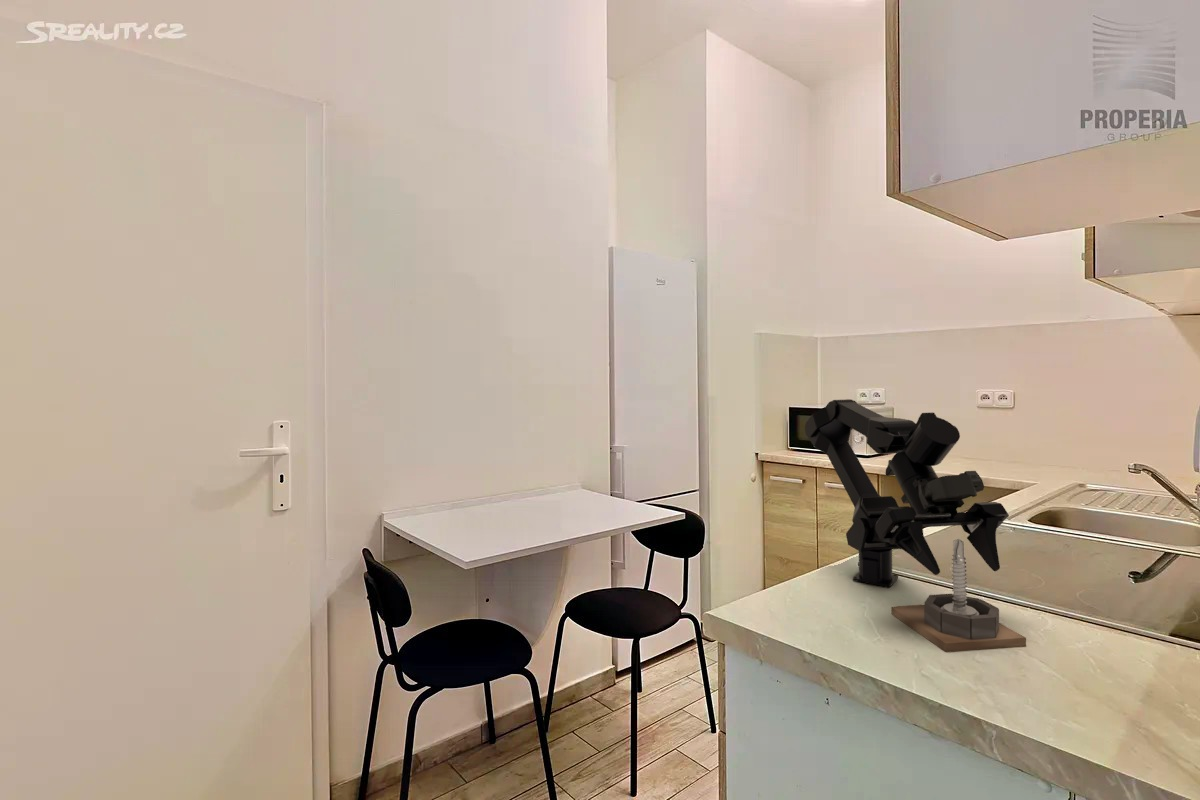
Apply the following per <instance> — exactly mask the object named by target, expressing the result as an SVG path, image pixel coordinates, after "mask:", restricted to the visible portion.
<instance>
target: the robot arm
mask: <svg viewBox="0 0 1200 800" xmlns="http://www.w3.org/2000/svg"><path fill="white" fill-rule="evenodd" d="M852 430H854V431H856V432H858V433H860V434H861V435H862V436H864V437H865V438H866V444H867V445H868V447H870V449H872V450H873V451H874V452H875V453H876V454H878V455H889V454H894V455H893V457H892V458H891V459H889V460H888V463H887V467H886V468H885V472H884V473H885V476H887V477H891V476H894V477H895V479H896V481H897V482H898V483H897V484H898V485H899V487H900V488H901V491H902V492H903V495H902V496H901V498H900V500H901V502H902V504H909V506H907V505H906V506H904V505H903V506H899V504H898V502H897V500H896V499H895V498H894V496H891V495H889V496H884V495H883V496H881V495H880V494H879V492H878V491H877V489H876V487H875V486H874V483H872V481H871V479H870V477H869V476H868V474H867V472H866V471H865V469H864V467H863V465H862V463H861V461H860V460H859V459H858V457H857V454H856V453H855V452H854V450H853V448H852V447H851V445H850V442H849V440H850V438H851V431H852ZM804 433H805V435H806V437H807V439H808V440H809V442H810V443H811V445H812V446H813V447H814V448H815V449H817V450H818V451H820V452H822V453H824V454H826V456H827V457H828V459H829V461H830V463H831V465H832V466H833V469H834V471H835V472H836V475H837V476H838V478H839V480H840V482H841V484H842V485H843V488H844V490H845V492H846V493H847V496H848V498H849V499H850V501H851V503H852V505H853V507H854V511H853V516H852V524H851V526H850V527H849V529H848V530H847V532H846V534H845V537H846V541H847V546H850V547H851V548H853V549H854V550H856V551H858V572H857V573H855V574H854V575H853V577H852V580H853V581H854V582H855V581H856V582H860V583H863V584H864V583H865V584H870V585H875V586H880V587H886V588H890V587H891V588H892V585H893V584H894V583H895V582H896V581H897V580H898V578H899V575H898V574H895V573H893V550H903V551H904V552H905V553H907V555H908V554H909V555H910V556H911V558H913V559H915V560H916V561H917V562H918V563H920V564H921V565H922V566H923V567H924V568H925V569H927V570H928V571H929V572H930V573H932V574H933V576H934V575H935V576H937V575H939V574H940V573H941V569H940V567H939V564H938V561H937V560H936V557H935V555H934V553H933V551H932V550H931V548H930V546H929V544H928V542H927V540H926V538H925V536H924V528H932V527H934V528H935V527H952V526H954V527H955V526H961V527H962V530H963V532H965V533H967V534H969V535H968V536H967V537H966V539H967V540H968V541H969V544H971V545H972V547H973V549H975V551H976V552H977V553H978V555H980V557H981V558H982V560H983V561H984V563H986V565H987V566H988V567H989V568H990V569H991V570H992V571H994V572H998V571H999V570H1000V569H1001V565H1000V560H999V559H1000V558H999V553H998V552H999V551H998V546H997V538H996V537H997V533H996V532H997V529H998V528H999V527H1000V526H1001V525H1002V524H1003V522H1004V521H1006V519H1007V518H1008V517H1009V516H1010V514H1009V513H1008V512H1007V510H1006V508H1005V506H1004V505H1003V504H1002V503H1001V502H997V501H987V502H974V503H973V505H971V507H969V508H968V510H967V511H964V512H963V511H962V512H958V510H957V509H958V508H962V507H963V506H964V505H965V502H964V499H967V498H970V497H972V498H974V497H977V496H978V493H979V492H982V491H984V490H985V489H984V488H985V484H984V481H983V478H982V477H981V476H980V474H979V473H978V472H977V471H976V470H965V471H964V472H960V473H959V474H950V475H948V474H947V475H943V476H940V477H939V476H938V474H937V473H936V471H935V469H934V467H935V466H938V465H940V464H941V463H942V462H943V461H944V459H945V458H946V456H947V455H948V454H949V453H950V452H951V450H952V449H953V448H954V447H955V445H956V444H957V443H958V441H959V440H960V437H961V435H960V431H959V429H958V428H957V426H955V425H953V423H951V422H950V421H948V420H946V419H943V418H941V417H938V416H937V415H936V414H935V412H921V414H919V416H918V419H917V421H916V422H915V421H913V420H910V419H905V418H897V417H887V416H883V415H881V414H879V413H877V412H876V411H873V410H871V409H870V408H867V407H865V406H863V405H861V404H859V403H858V402H857V401H856V400H853V399H849V398H847V399H846V398H845V399H833V400H831V401H829V402H828V403H827V404H826V405H825V406H824V407H822V408H820V409H819V410H817V411H815V412H813V413H812V414H811V415H810V417H809V418H807V420H806V421H805V424H804Z"/></svg>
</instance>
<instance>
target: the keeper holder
mask: <svg viewBox="0 0 1200 800" xmlns="http://www.w3.org/2000/svg"><path fill="white" fill-rule="evenodd" d="M952 594H953V593H940V594H938V593H937V594H930V595H928V596H927V597H926V599H925V601H924V604H914V605H910V604H909V605H898V606H894V605H893V606H891V607H890V609H891V610H890V611H891V615H892V616H894V617H895V618H896V619H898V620H899V621H901V622H902V623H904V624H905V625H907V626H908V627H909V628H911V629H912V630H914V631H915V632H917V633H918V634H920V635H921V636H922V637H924V638H925V639H927V640H928V641H929V642H931V643H932V644H934V645H935V646H937V647H938V648H939V649H941V650H942V651H944V652H945V653H947V652H949V653H950V652H962V651H963V652H964V651H975V650H989V649H990V650H991V649H1003V648H1015V647H1016V648H1018V647H1027V637H1026V636H1024V635H1023V634H1020V633H1019V632H1017V631H1015V630H1013V629H1011V628H1009V627H1007V626H1006V625H1004V624H1002V623H1000V609H999V608H998V607H997V606H995V605H993V604H991V603H989V602H987V601H985V600H983V599H981V598H977V597H972V596H968V595H966V597H967V599H966V601H967V603H966V605H967V606H970V607H973V608H974V609H976V611H978V612H979V615H973V616H967V615H962V614H958V613H953V612H948V611H945V610H943V609H941V607H942V606H944V605H945V604H949V603H953V601H954V599H952V598H953V597H954V595H952Z"/></svg>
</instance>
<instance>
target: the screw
mask: <svg viewBox="0 0 1200 800" xmlns="http://www.w3.org/2000/svg"><path fill="white" fill-rule="evenodd" d="M952 543H953V545H952V546H953V549H952V551H953V554H952V555H951V556H952V558H951V560H952V562H951V564H952V566H951V568H952V570H951V572H952V574H951V576H952V577H951V580H953V581H952V582H951V583H952V586H951V587H952V588H953V589H952V590H951V591H952V592H953V593H951V594H952V595H954V597H953V598H952V599H954V601H953V603H949V604H945V605H944V606H942V607H941V609H943V610H945V611H948V612H953V613H958V614H962V615H967V616H973V615H979V612H978V611H976V609H974V608H973V607H970V606H967V605H966V603H967V601H966V599H967V597H966V596H968V593H967V591H968V589H967V581H966V580H967V577H966V576H967V573H966V572H967V569H966V568H967V561H966V557H965V552H964V550H965V547H964V545H965V544H964V541H963V540H961V539H959V538H956V539H955V540H953V542H952Z"/></svg>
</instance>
